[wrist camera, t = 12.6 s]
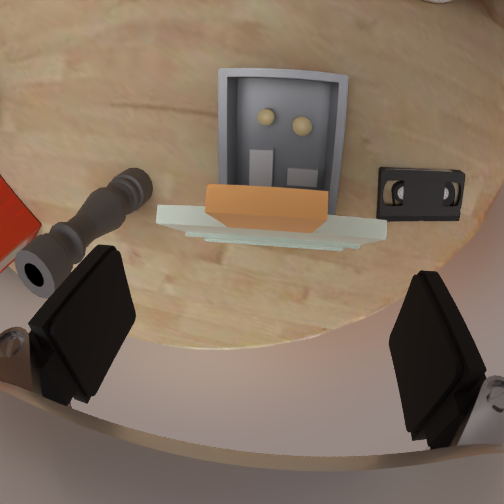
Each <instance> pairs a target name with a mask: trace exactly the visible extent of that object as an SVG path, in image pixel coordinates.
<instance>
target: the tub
mask: <svg viewBox="0 0 504 504" xmlns="http://www.w3.org/2000/svg"><path fill="white" fill-rule="evenodd" d="M348 76H349V75H343V74H336V73H327V72H318V71H306V70H293V69H274V68H218V161H219V184H225V185H247V186H265V187H281V188H295V189H307V190H319V191H328V215H335V211H336V204H337V196H338V188H339V180H340V172H341V163H342V153H343V143H344V133H345V121H346V108H347V94H348Z"/></svg>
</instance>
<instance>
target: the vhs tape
mask: <svg viewBox="0 0 504 504" xmlns="http://www.w3.org/2000/svg"><path fill="white" fill-rule="evenodd" d="M388 180H400V181H398V182H396V183H395V184H394V185H393V187H392V200H393V206H386V205H385V204H384V201H383V190H384V186H385V184H386V182H387V181H388ZM451 182H458V183H460V187H459V194H458V201H457V206H454V199H455V188H454V186H453V184H452V183H451ZM464 183H465V174H464V173H463V172H461V171H460V170H446V169H427V168H400V167H380V168H379V179H378V200H377V215H376V218H377V219H379V220H387V222H388V221H459V218H460V209H461V205H462V198H463V191H464ZM394 198H395V199H396V200H397V201H398V202H402V203H403V205H402V206H395V199H394ZM449 205H450V206H449Z"/></svg>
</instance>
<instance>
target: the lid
mask: <svg viewBox="0 0 504 504" xmlns="http://www.w3.org/2000/svg"><path fill="white" fill-rule="evenodd" d="M156 224H160V225H163V226H166V227H170V228H173V229H176V230H179V231H183V232H186V234H185V236H188V237H202V238H205V241H207V242H222V243H236V244H249V245H263V246H277V247H290V248H304V249H317V250H330V251H343V248H352V249H360V245H363V244H368V243H373V242H378V241H382V240H386V235H387V220H379V219H369V218H359V217H349V216H338V215H328V191H319V190H307V189H295V188H281V187H265V186H247V185H225V184H207V193H206V203H205V206H181V205H158V207H157V216H156Z"/></svg>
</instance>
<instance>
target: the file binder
mask: <svg viewBox="0 0 504 504" xmlns="http://www.w3.org/2000/svg"><path fill="white" fill-rule="evenodd" d="M40 226H41V224H40V222H39V221H38V220H37V219H36V218H35V217H34V216H33V215H32V214H31V212H30V211H29V210H28V209H27V208H26V207H25V205H24V204H23V203H22V202H21V201H20V200H19V198H18V197H17V196H16V195H15V194H14V192H13V191H12V190H11V189H10V187H9V186H8V185H7V184H6V183H5V181H4V180H3V179H2V177H1V176H0V273H1V272H2V271H3V270H4V269H5V268H6V267H7V266H9V265H10V264H11V263H12V262H13V261H14V260H15V258H16V254H17V253H18V252H19V251H20V250H21V249H22V248H24V247H25V246H26V245H27V244H28V243H30V242H31V241H32V240H33V239H34V238H35V237H36V235H37V233H38V230H39V228H40Z"/></svg>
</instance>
